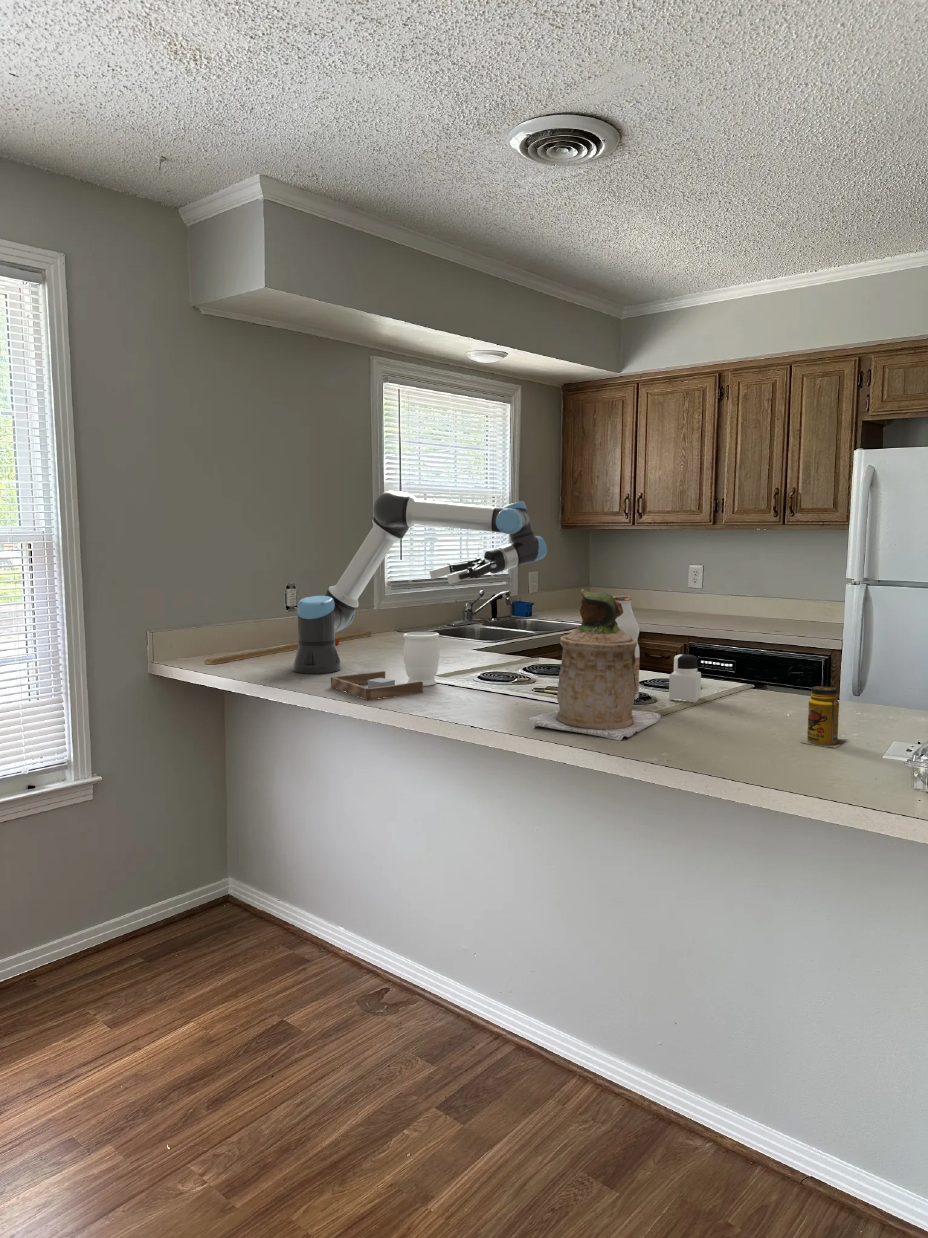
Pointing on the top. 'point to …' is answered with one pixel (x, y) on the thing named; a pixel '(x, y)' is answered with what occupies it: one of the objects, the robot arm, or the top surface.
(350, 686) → the tray
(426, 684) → the jar
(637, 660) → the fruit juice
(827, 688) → the condiment
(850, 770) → the top surface
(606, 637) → the cookie jar
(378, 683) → the tile
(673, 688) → the medicine bottle
